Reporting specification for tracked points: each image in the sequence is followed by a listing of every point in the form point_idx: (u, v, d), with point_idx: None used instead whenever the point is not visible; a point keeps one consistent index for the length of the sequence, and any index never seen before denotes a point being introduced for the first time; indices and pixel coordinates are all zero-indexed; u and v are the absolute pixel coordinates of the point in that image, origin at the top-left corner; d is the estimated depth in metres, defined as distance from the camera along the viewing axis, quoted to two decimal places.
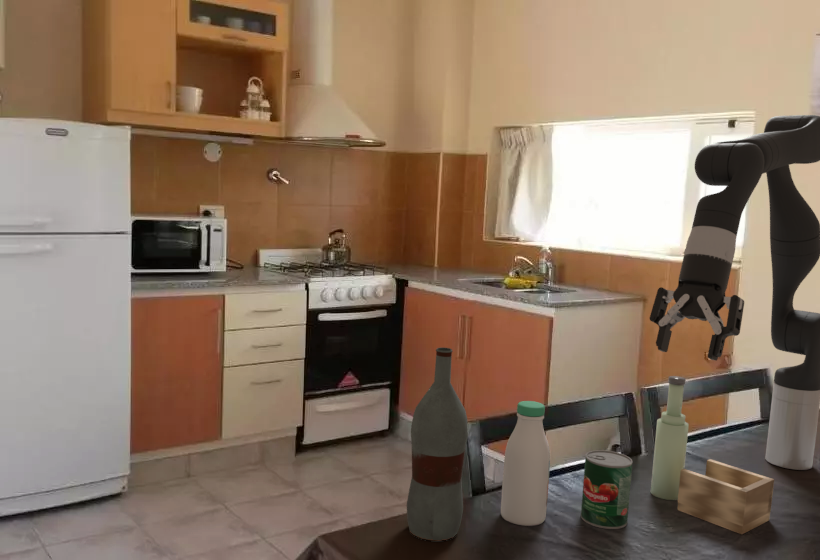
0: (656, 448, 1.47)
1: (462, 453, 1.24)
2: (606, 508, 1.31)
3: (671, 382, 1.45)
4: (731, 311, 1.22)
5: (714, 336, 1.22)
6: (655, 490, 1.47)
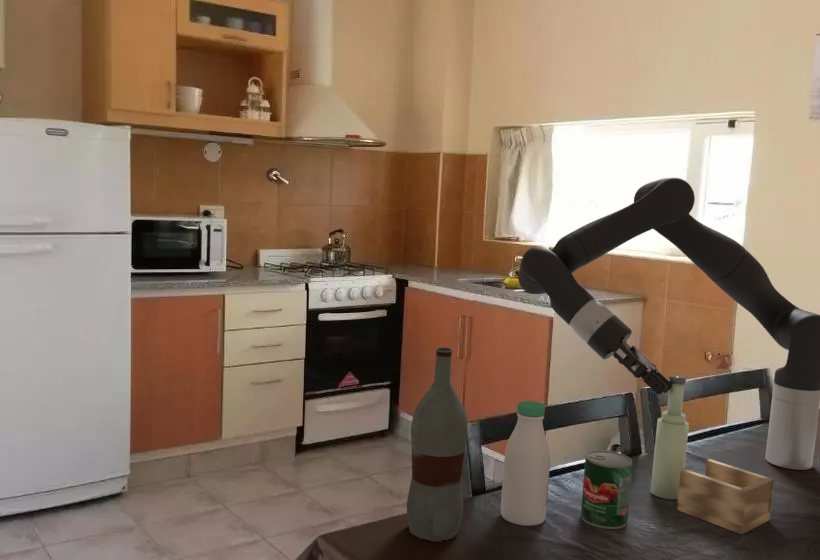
0: (656, 447, 1.47)
1: (462, 453, 1.24)
2: (606, 508, 1.31)
3: (672, 381, 1.45)
4: (624, 365, 1.39)
5: (644, 381, 1.39)
6: (655, 490, 1.47)
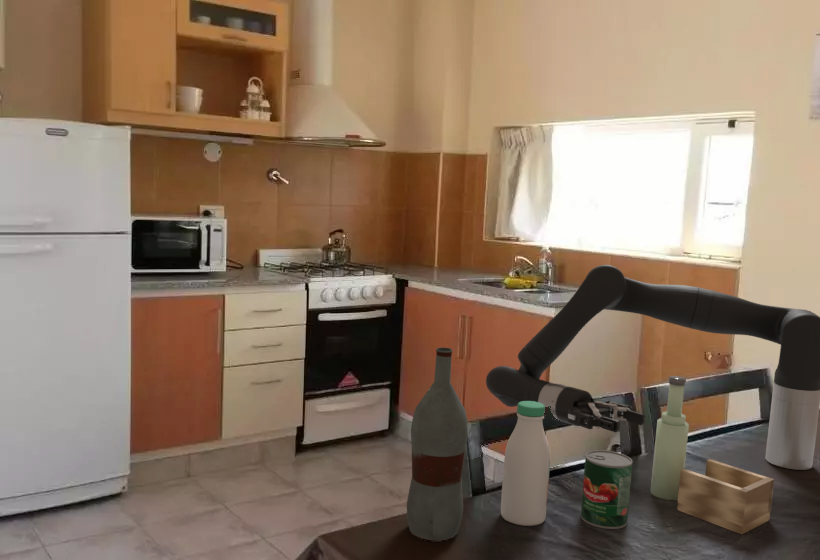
0: (656, 448, 1.47)
1: (462, 453, 1.24)
2: (606, 508, 1.31)
3: (671, 382, 1.45)
4: None
5: (602, 427, 1.53)
6: (655, 490, 1.47)
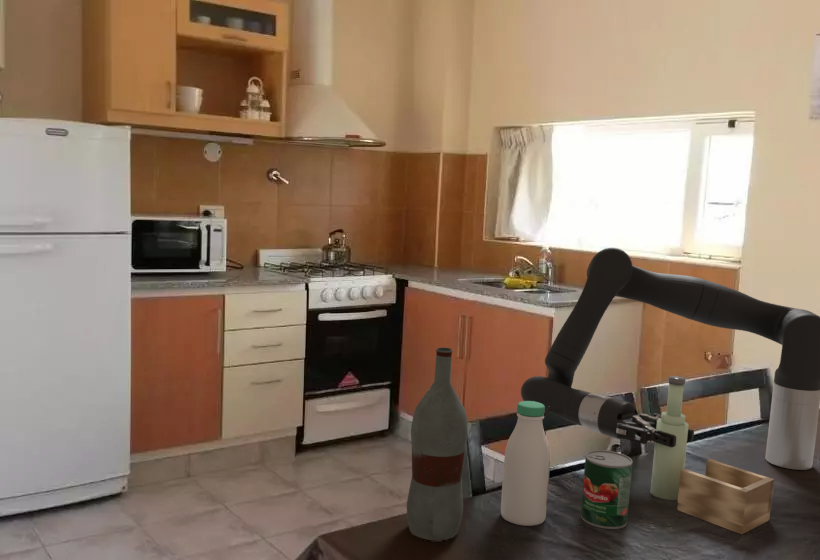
0: (656, 448, 1.47)
1: (462, 453, 1.24)
2: (606, 508, 1.31)
3: (671, 382, 1.45)
4: None
5: (657, 442, 1.45)
6: (655, 490, 1.47)
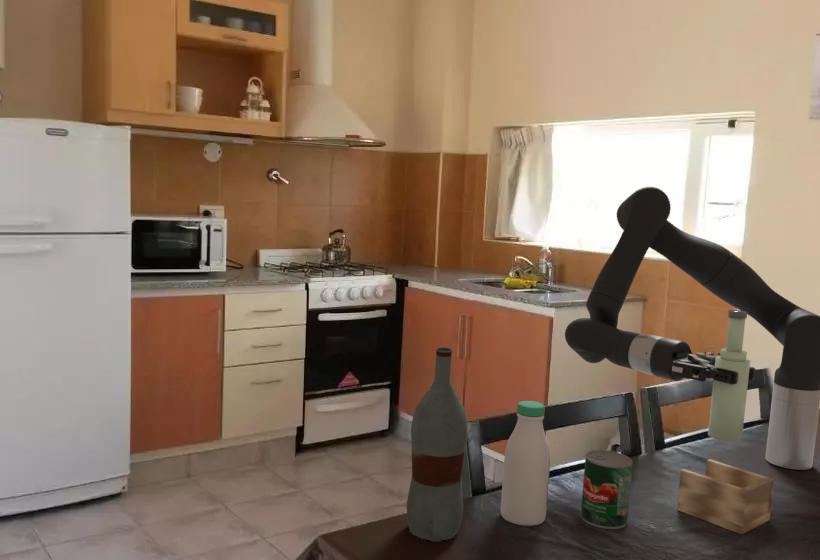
0: (715, 387, 1.37)
1: (462, 453, 1.24)
2: (606, 508, 1.31)
3: (732, 315, 1.35)
4: None
5: (717, 380, 1.36)
6: (714, 432, 1.37)
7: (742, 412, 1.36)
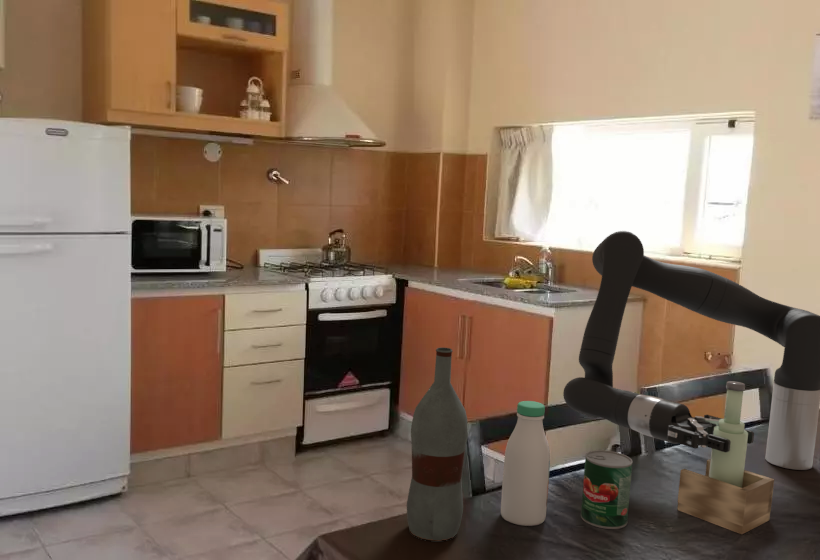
0: (713, 458, 1.38)
1: (462, 453, 1.24)
2: (606, 508, 1.31)
3: (730, 388, 1.36)
4: None
5: (709, 447, 1.36)
6: None
7: (740, 484, 1.37)
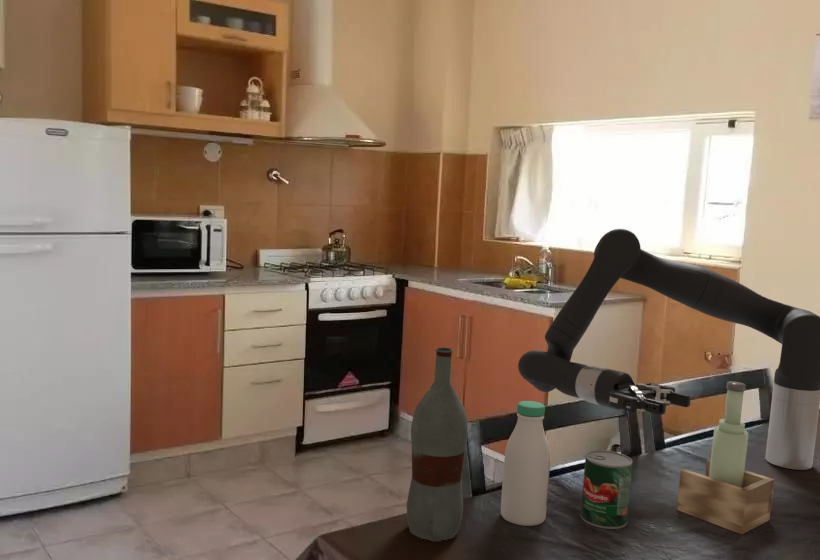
0: (713, 458, 1.38)
1: (462, 453, 1.24)
2: (606, 508, 1.31)
3: (730, 388, 1.36)
4: None
5: (647, 410, 1.46)
6: None
7: (740, 484, 1.37)
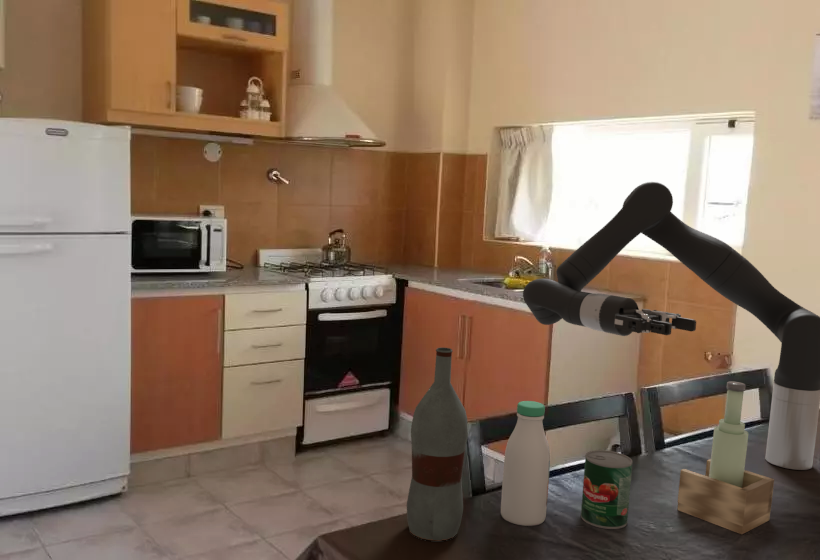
0: (713, 458, 1.38)
1: (462, 453, 1.24)
2: (606, 508, 1.31)
3: (730, 388, 1.36)
4: (626, 329, 1.46)
5: None
6: None
7: (740, 484, 1.37)
